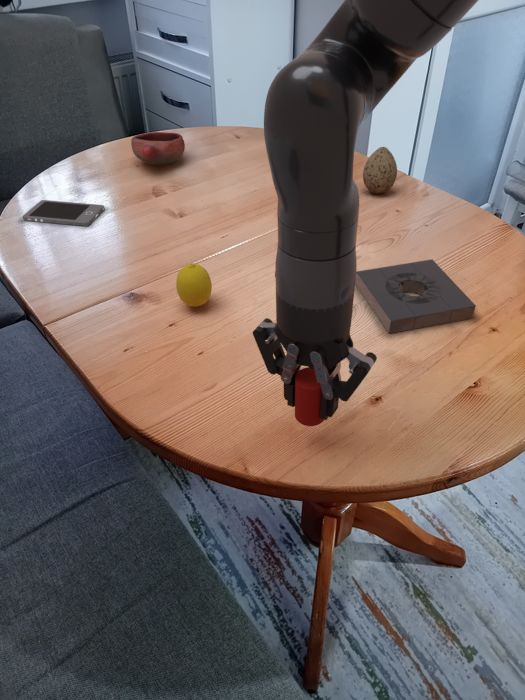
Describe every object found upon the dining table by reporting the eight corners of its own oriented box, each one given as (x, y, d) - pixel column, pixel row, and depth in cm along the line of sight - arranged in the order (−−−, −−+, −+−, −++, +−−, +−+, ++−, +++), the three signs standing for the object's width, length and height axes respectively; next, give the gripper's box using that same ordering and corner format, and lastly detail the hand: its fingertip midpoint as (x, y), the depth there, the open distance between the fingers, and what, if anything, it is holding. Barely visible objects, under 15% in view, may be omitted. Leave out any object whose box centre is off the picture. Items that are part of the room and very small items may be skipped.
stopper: (319, 401, 65) (321, 364, 61) (329, 422, 62) (332, 385, 58) (290, 407, 64) (291, 370, 60) (300, 429, 61) (300, 392, 58)
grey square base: (429, 271, 94) (432, 259, 92) (472, 318, 84) (476, 305, 82) (354, 283, 91) (355, 271, 90) (388, 333, 81) (391, 320, 80)
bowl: (129, 159, 136) (123, 127, 130) (177, 150, 139) (173, 118, 134) (146, 183, 124) (140, 148, 119) (198, 172, 128) (195, 139, 123)
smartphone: (21, 220, 112) (20, 217, 111) (42, 202, 118) (41, 199, 117) (87, 226, 109) (86, 223, 108) (105, 208, 115) (104, 205, 114)
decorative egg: (392, 185, 120) (399, 141, 114) (395, 200, 115) (402, 153, 109) (360, 185, 121) (364, 140, 115) (361, 199, 116) (366, 153, 109)
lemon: (173, 312, 87) (166, 269, 81) (189, 293, 90) (184, 252, 85) (204, 319, 85) (199, 276, 80) (219, 300, 89) (215, 258, 83)
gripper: (400, 283, 51) (379, 409, 62) (270, 248, 56) (273, 369, 68) (370, 326, 46) (353, 454, 57) (231, 283, 52) (241, 407, 63)
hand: (310, 407), depth 62 cm, fingers closed on stopper, 3 cm apart
